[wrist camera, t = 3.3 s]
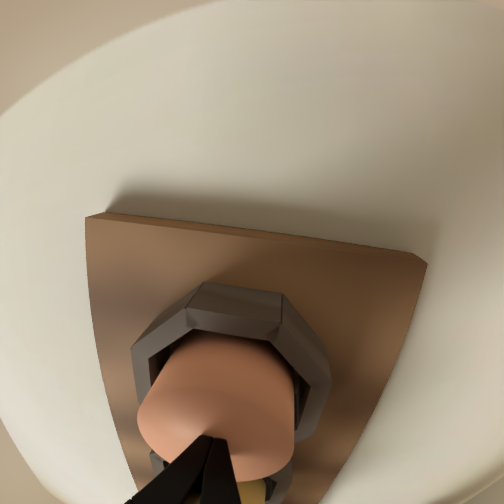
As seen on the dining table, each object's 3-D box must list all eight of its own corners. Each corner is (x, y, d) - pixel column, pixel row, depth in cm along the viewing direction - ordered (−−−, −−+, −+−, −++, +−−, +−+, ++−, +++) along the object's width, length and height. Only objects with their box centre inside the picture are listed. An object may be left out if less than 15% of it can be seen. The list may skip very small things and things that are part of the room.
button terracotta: (282, 418, 12) (278, 488, 8) (176, 399, 12) (147, 462, 8) (304, 328, 11) (311, 402, 7) (174, 308, 11) (127, 368, 7)
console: (297, 516, 18) (296, 548, 14) (147, 490, 19) (135, 519, 16) (413, 253, 11) (455, 284, 8) (103, 212, 12) (49, 228, 9)
